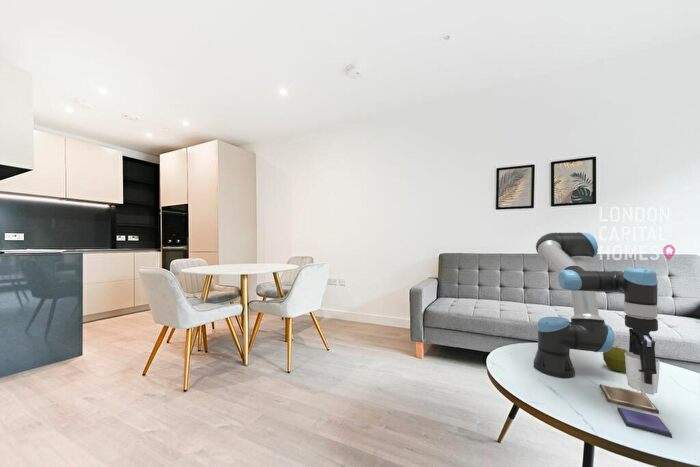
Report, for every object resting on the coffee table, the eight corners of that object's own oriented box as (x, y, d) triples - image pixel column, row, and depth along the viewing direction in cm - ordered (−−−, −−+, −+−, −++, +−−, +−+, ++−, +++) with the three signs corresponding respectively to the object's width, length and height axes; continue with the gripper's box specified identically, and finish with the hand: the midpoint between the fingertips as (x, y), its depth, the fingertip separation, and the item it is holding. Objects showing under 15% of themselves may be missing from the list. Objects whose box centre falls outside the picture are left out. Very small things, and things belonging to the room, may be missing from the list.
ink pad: (626, 426, 89) (626, 421, 89) (617, 409, 98) (617, 406, 98) (672, 437, 84) (672, 433, 84) (658, 419, 92) (658, 415, 93)
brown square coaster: (608, 402, 102) (608, 398, 102) (599, 386, 113) (599, 383, 113) (658, 413, 96) (658, 410, 96) (644, 395, 107) (644, 392, 107)
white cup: (618, 382, 95) (617, 352, 95) (639, 381, 95) (639, 351, 96) (644, 395, 87) (644, 362, 87) (667, 394, 87) (667, 361, 88)
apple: (613, 374, 124) (612, 349, 124) (597, 364, 134) (597, 341, 134) (639, 376, 122) (638, 350, 123) (621, 366, 132) (621, 342, 132)
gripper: (671, 326, 81) (673, 406, 80) (645, 311, 98) (646, 377, 98) (635, 322, 85) (637, 398, 84) (616, 308, 102) (617, 372, 102)
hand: (642, 387), depth 91 cm, fingers closed on white cup, 8 cm apart
